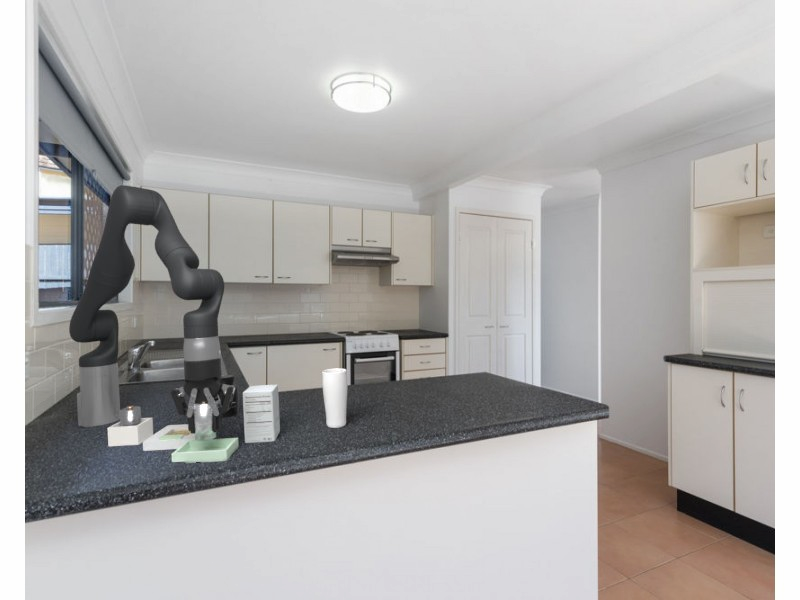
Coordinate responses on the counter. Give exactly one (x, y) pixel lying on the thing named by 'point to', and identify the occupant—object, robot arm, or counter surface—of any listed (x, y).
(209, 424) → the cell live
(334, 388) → the drinking glass
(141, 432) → the white open box sleeve
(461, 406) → the counter surface
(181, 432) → the contact plate
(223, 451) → the trough
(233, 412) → the supplement bottle
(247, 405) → the supplement box
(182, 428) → the frame
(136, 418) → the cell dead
